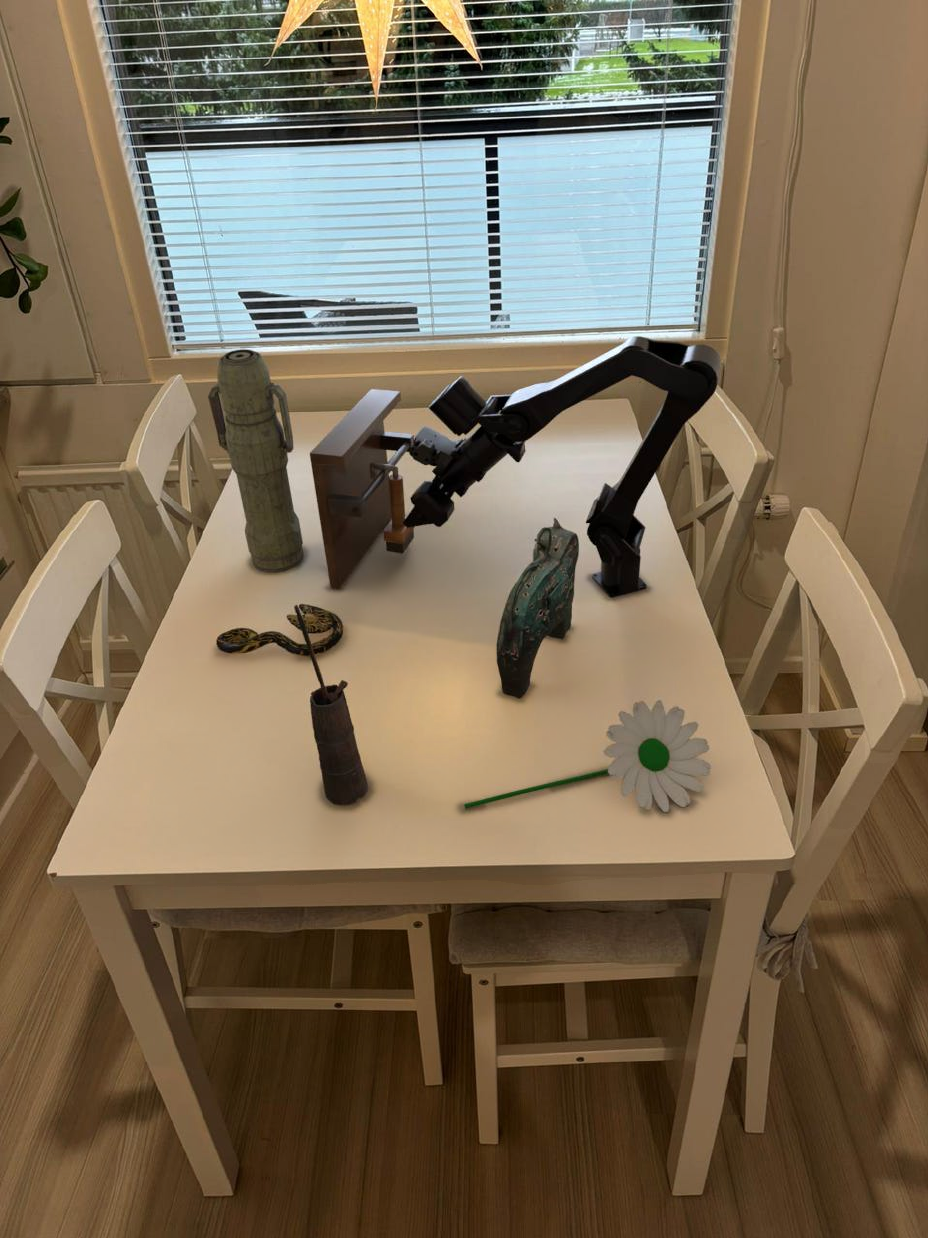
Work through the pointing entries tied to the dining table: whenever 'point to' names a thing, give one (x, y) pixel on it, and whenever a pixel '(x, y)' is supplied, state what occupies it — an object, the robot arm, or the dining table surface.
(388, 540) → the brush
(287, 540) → the thermos
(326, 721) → the butter churn
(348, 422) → the wall shelf
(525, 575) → the dark green arched piece
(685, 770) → the flower
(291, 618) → the toy snake
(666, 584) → the dining table surface
